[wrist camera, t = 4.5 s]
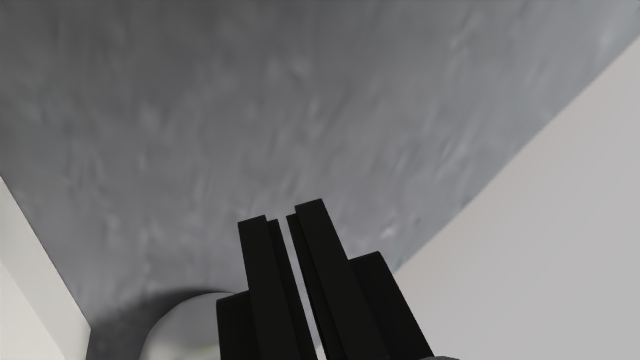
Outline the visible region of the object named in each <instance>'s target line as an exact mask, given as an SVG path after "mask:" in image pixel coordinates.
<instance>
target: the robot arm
mask: <svg viewBox="0 0 640 360" xmlns="http://www.w3.org/2000/svg"><path fill="white" fill-rule="evenodd" d="M295 211H296V213H295V214H292V215H288V216H286V218H287V222H288V225H289V229H290V233H291V236H292V240H293V244H294V247H295V251H296V254H297V258H298V262H299V265H300V269H301V272H302V276H303V280H304V283H305V287H306V291H307V294H308V298H309V301H310V305H311V309H312V312H313V316H314V319H315V323H316V326H317V329H318V333H319V336H320V339H321V343H322V346H323V349H324V353H325V355H326V359H327V360H459V359H455V358H450V357H446V356H438V357H435V356H434V354H433V352H432V350H431V349H430V347H429V345H428V343H427V341H426V339H425V337H424V335H423V333H422V331H421V329H420V328H419V326H418V324H417V322H416V320H415V318H414V316H413V314H412V312H411V310H410V308H409V306H408V304H407V303H406V301H405V299H404V297H403V295H402V293H401V291H400V289H399V287H398V285H397V284H396V282H395V280H394V278H393V276H392V274H391V272H390V270H389V268H388V266H387V264H386V262H385V260H384V258H383V257H382V255H381V253H380V252H379V251H376V252H373V253H370V254H366V255H363V256H360V257H356V258H353V259H350V260H348V259H347V256H346V254H345V252H344V249H343V247H342V245H341V242H340V240H339V238H338V235H337V233H336V231H335V228H334V226H333V224H332V221H331V219H330V217H329V214H328V212H327V210H326V208H325V205H324V203H323V201H322V199H321V198H320V199H317V200H313V201H310V202H306V203H303V204H299V205H296V206H295ZM238 229H239V235H240V241H241V247H242V252H243V258H244V264H245V270H246V275H247V281H248V287H249V290H247V291H244V292H241V293H238V294H234V295H231V296H228V297H224V298H221V299H218V300H216V316H217V326H218V337H219V348H220V359H221V360H318V358H317V355H316V351H315V348H314V344H313V341H312V337H311V334H310V330H309V327H308V323H307V320H306V316H305V313H304V309H303V306H302V303H301V299H300V296H299V292H298V289H297V285H296V282H295V278H294V275H293V271H292V268H291V264H290V261H289V257H288V254H287V250H286V247H285V243H284V240H283V237H282V233H281V230H280V226H279V223H278V219H274V220H271V221H268V222H267V220H266V217H265V215H261V216H258V217H255V218H251V219H248V220H244V221H241V222H238Z"/></svg>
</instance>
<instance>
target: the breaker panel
mask: <svg viewBox="0 0 640 360" xmlns="http://www.w3.org/2000/svg"><path fill="white" fill-rule="evenodd" d="M90 332H91V328H90V326H89V324H88V323H87V321H86V319H85V318H84V316H83V314H82V313H81V311H80V309H79V307H78V306H77V304H76V302H75V301H74V299H73V297H72V296H71V294H70V292H69V291H68V289H67V287H66V286H65V284H64V282H63V280H62V279H61V277H60V275H59V274H58V272H57V270H56V269H55V267H54V265H53V264H52V262H51V260H50V259H49V257H48V255H47V254H46V252H45V250H44V248H43V247H42V245H41V243H40V242H39V240H38V238H37V237H36V235H35V233H34V232H33V230H32V228H31V227H30V225H29V223H28V222H27V220H26V218H25V216H24V215H23V213H22V211H21V210H20V208H19V206H18V205H17V203H16V201H15V200H14V198H13V196H12V195H11V193H10V191H9V190H8V188H7V186H6V184H5V183H4V181H3V179H2V178H1V176H0V360H85V359H86V353H87V348H88V343H89V337H90Z"/></svg>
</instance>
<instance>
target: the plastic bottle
mask: <svg viewBox="0 0 640 360" xmlns="http://www.w3.org/2000/svg"><path fill="white" fill-rule="evenodd" d="M231 295H234V294H233V293H209V294H203V295H200V296H196V297H193V298H190V299H188V300H186V301H183V302H182V303H180V304H178V305H177V306H175V307H174V308H172V309H171V310H170V311H169V312H168V313H166V314H165V315H164V316H163V317H162V318H161V319H160V320H159V321H158V322H156V324H155V325H154V326H153V328H152V329H151V330H150V331H149V333H148V335H147V338H146V340H145V342H144V346H143V349H142V352H141V355H140V358H139V360H221V359H220V348H219V337H218V326H217V316H216V300H218V299H221V298H224V297H228V296H231Z"/></svg>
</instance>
